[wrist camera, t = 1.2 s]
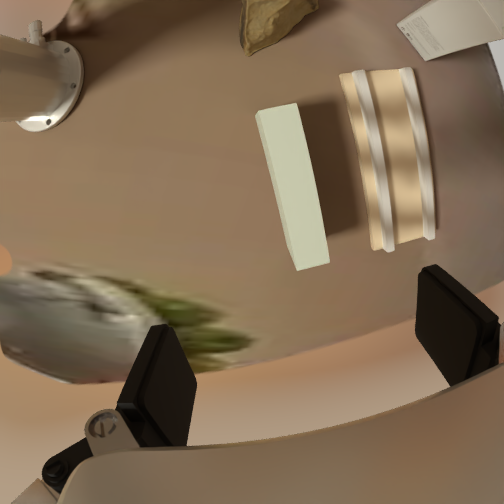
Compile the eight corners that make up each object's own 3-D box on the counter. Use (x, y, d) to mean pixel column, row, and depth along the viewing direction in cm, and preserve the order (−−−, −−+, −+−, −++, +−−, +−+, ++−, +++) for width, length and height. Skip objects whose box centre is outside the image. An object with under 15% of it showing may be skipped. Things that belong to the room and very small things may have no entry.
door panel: (255, 116, 31) (258, 110, 25) (285, 109, 31) (296, 103, 24) (287, 246, 37) (297, 270, 31) (314, 239, 37) (329, 262, 30)
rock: (316, -29, 22) (230, -31, 21) (352, -20, 18) (246, -28, 16) (310, 44, 31) (233, 47, 30) (340, 69, 27) (248, 72, 26)
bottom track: (338, 75, 29) (345, 71, 27) (408, 70, 29) (418, 67, 26) (371, 247, 37) (378, 255, 35) (432, 230, 37) (441, 236, 34)
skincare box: (423, 62, 28) (505, 43, 14) (392, 22, 26) (463, -18, 12) (453, 39, 26) (529, 20, 12) (425, 2, 24) (494, -32, 10)
